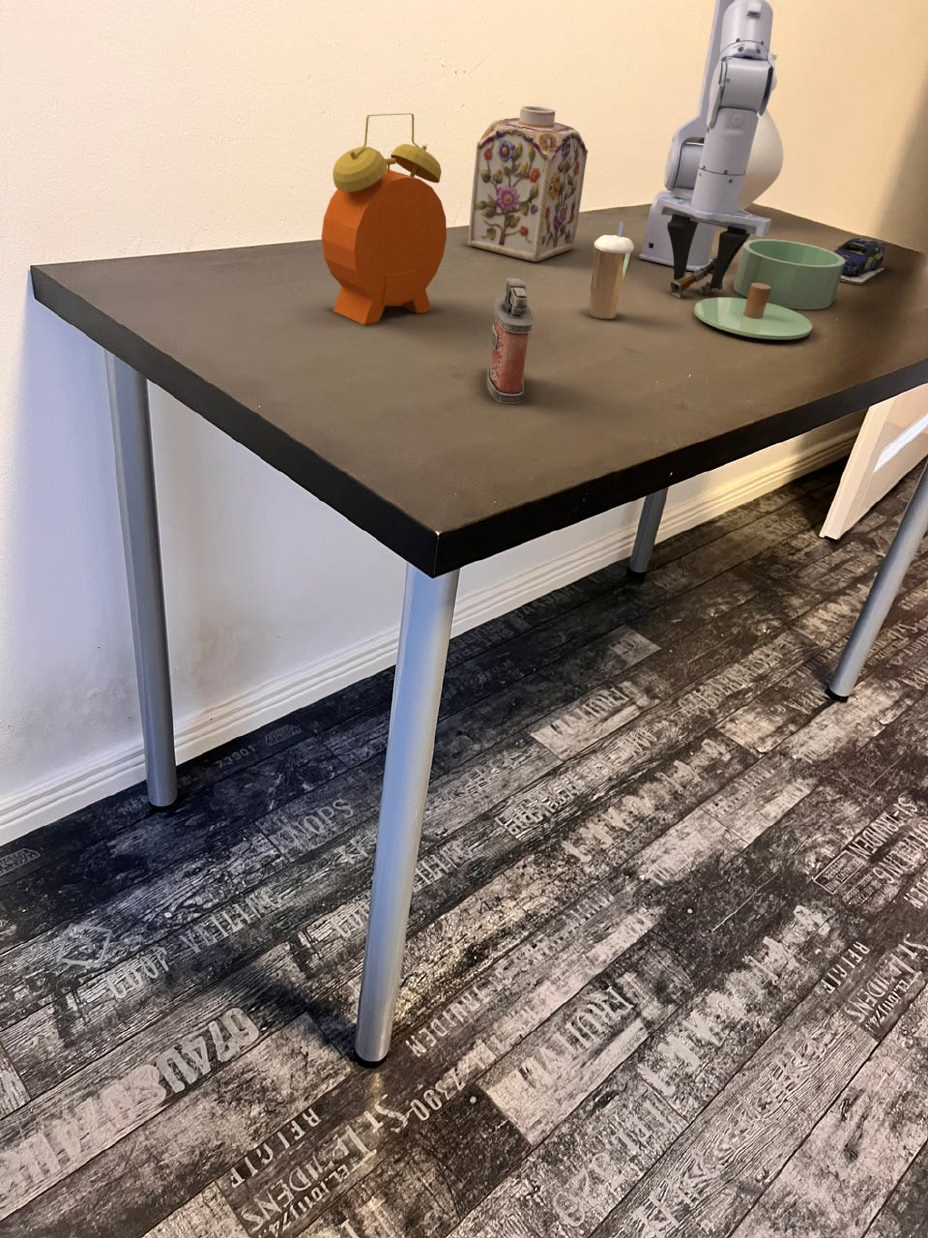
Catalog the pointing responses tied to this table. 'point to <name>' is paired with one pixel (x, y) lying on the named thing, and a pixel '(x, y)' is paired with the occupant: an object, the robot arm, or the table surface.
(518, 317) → the lighter
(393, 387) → the table surface
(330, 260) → the alarm clock
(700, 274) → the wooden post with brackets
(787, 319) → the lid
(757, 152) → the decorative vase
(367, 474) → the table surface
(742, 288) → the canister
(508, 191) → the decorative jar
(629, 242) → the milkshake
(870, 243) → the race car
